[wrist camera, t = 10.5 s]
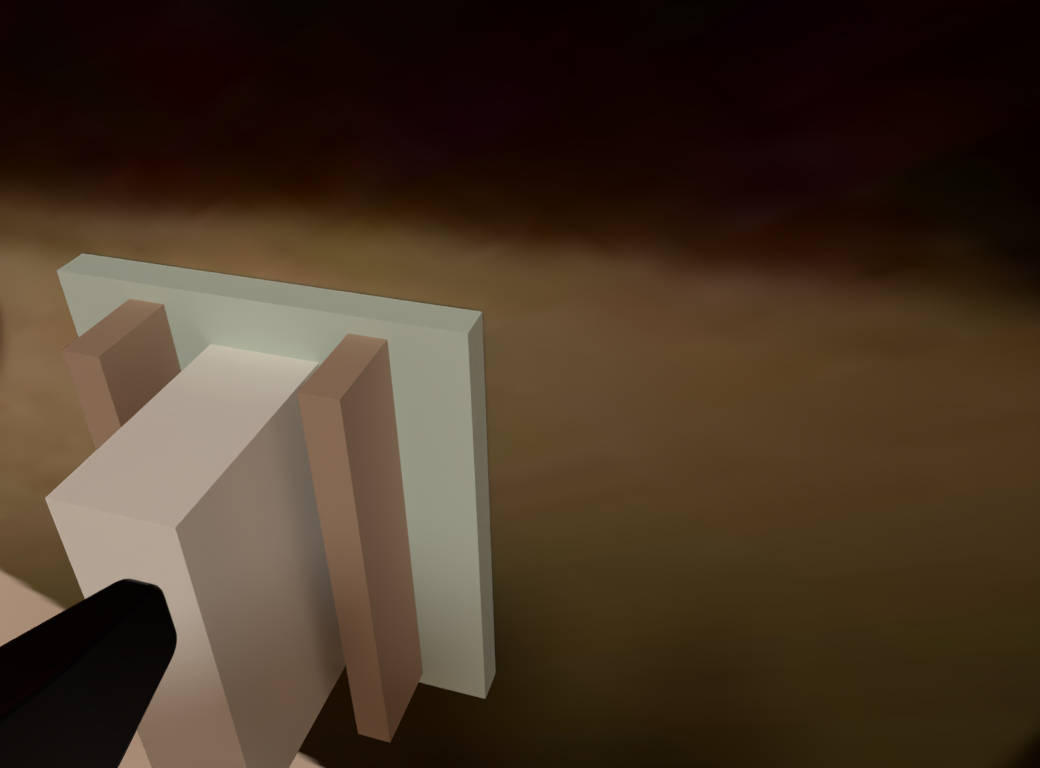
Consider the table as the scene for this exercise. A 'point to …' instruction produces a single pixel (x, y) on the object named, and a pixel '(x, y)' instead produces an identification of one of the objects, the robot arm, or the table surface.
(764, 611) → the table surface
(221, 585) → the grey rectangular block
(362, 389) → the slotted stand
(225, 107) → the table surface
